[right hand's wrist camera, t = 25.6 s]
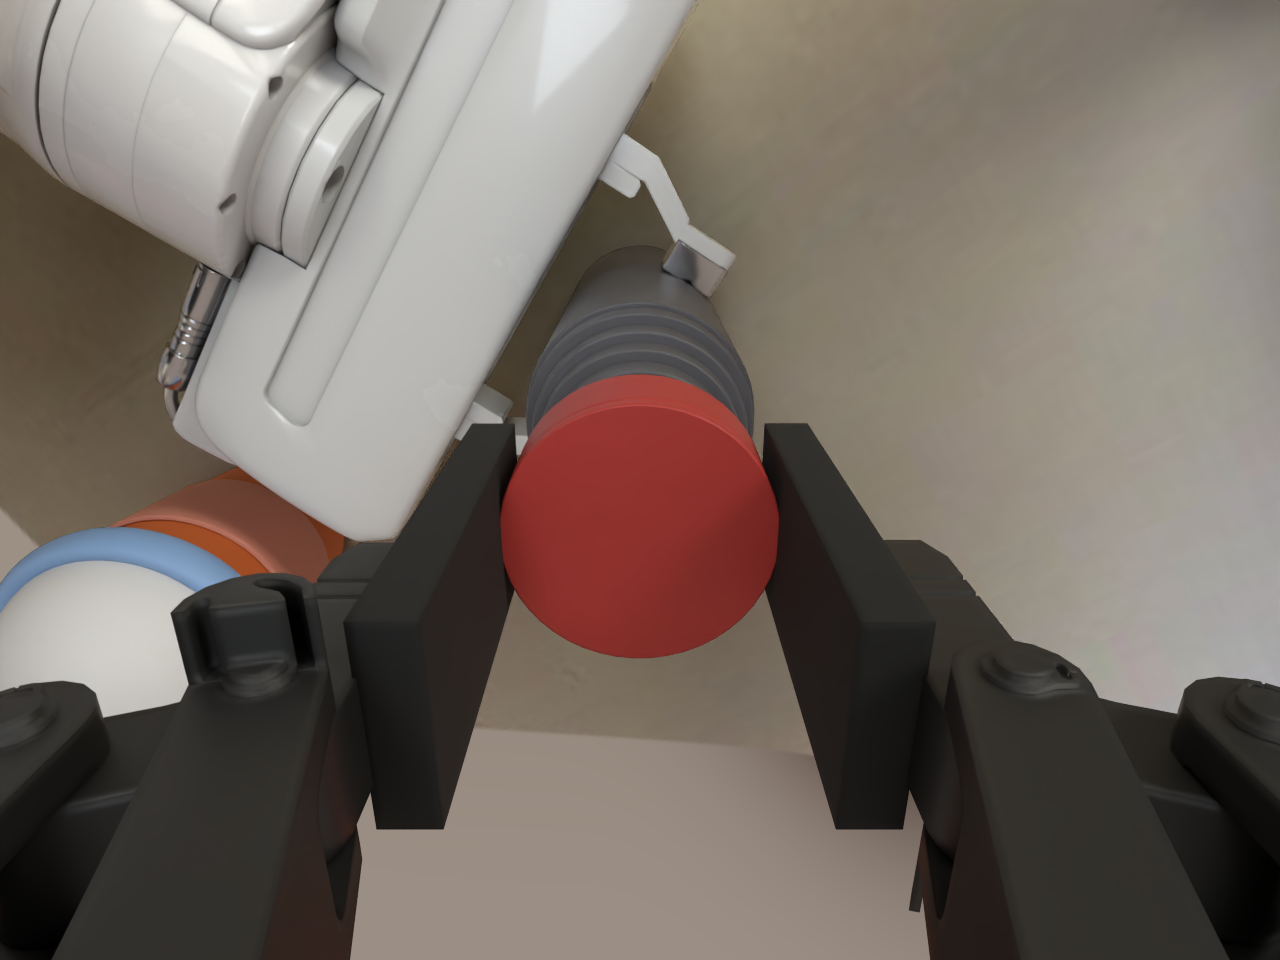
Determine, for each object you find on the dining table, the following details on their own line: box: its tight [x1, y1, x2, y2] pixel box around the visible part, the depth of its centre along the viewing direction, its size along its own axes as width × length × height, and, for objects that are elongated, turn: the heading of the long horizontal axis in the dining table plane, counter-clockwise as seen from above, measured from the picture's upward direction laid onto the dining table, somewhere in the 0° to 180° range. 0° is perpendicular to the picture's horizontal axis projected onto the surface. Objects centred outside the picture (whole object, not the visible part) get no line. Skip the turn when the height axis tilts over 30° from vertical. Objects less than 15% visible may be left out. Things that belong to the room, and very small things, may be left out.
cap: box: [500, 374, 779, 658], centre depth 13 cm, size 4×4×2 cm
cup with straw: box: [0, 467, 344, 717], centre depth 26 cm, size 9×9×18 cm
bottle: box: [526, 246, 754, 439], centre depth 22 cm, size 5×5×19 cm
